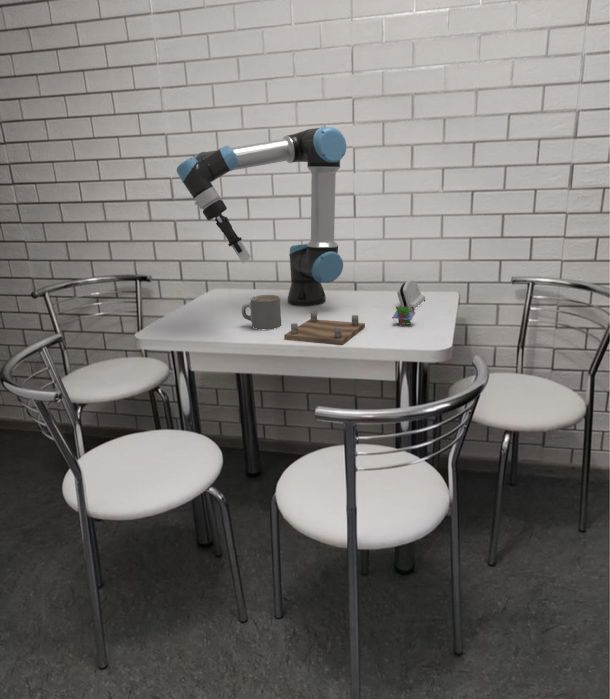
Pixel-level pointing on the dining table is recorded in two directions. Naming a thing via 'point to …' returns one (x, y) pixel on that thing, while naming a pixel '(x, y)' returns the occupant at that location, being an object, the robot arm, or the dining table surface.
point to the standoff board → (325, 330)
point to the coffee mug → (264, 311)
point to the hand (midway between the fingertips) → (247, 260)
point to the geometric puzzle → (404, 314)
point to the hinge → (410, 294)
